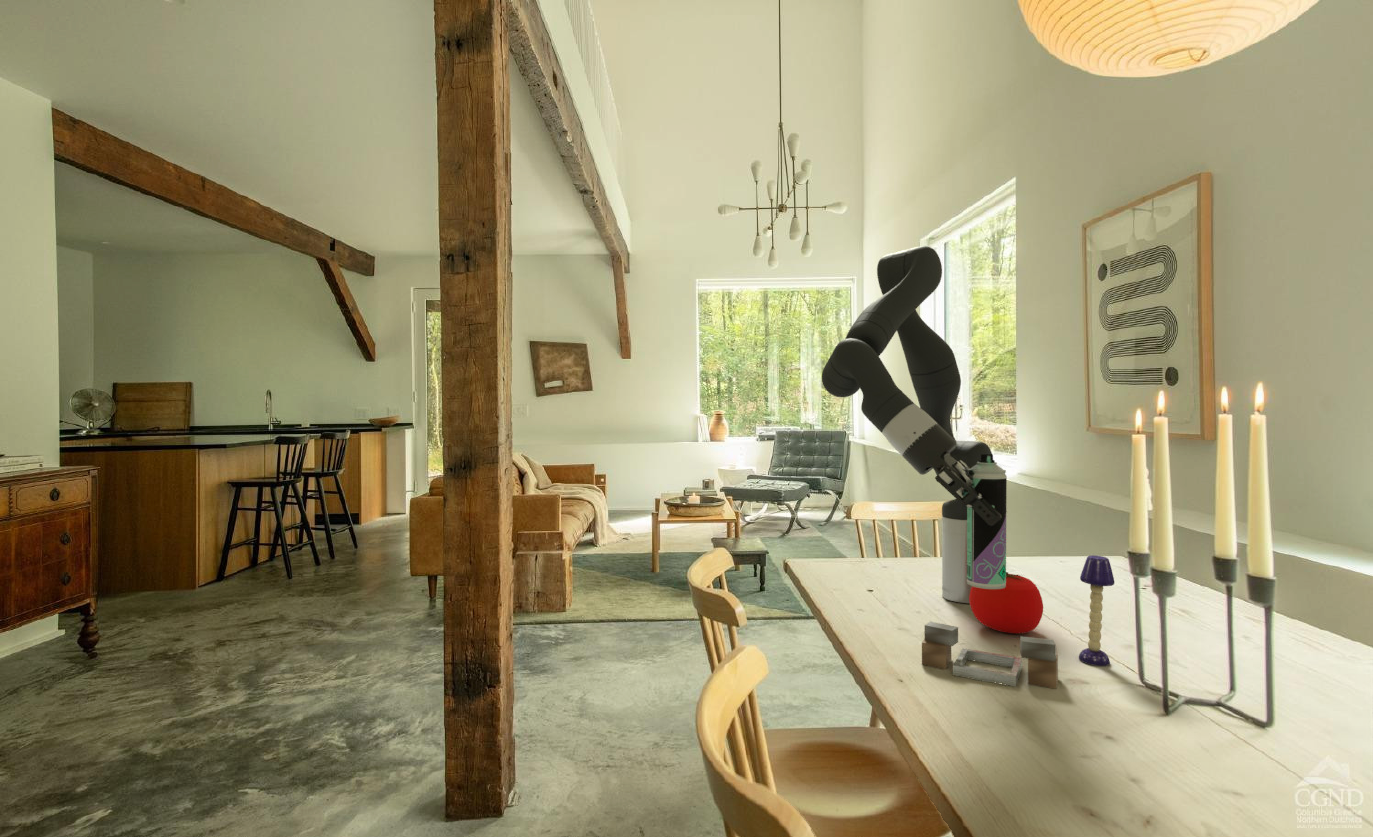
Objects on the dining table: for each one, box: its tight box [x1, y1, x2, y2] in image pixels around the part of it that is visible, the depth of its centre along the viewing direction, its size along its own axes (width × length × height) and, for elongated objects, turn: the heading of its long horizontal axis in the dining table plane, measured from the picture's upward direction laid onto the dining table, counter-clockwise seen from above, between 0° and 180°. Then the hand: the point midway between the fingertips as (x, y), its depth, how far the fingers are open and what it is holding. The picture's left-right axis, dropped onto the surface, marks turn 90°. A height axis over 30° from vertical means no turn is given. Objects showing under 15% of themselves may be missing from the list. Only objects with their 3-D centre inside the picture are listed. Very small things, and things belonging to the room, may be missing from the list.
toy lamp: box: [1078, 554, 1115, 667], centre depth 108 cm, size 5×5×17 cm
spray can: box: [967, 453, 1008, 589], centre depth 105 cm, size 6×6×20 cm
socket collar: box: [952, 647, 1023, 688], centre depth 105 cm, size 9×9×2 cm
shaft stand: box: [921, 620, 1059, 690], centre depth 105 cm, size 19×4×6 cm, turn 59°
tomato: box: [969, 571, 1044, 634], centre depth 124 cm, size 12×12×10 cm
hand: (999, 518), depth 104 cm, fingers closed on spray can, 5 cm apart
